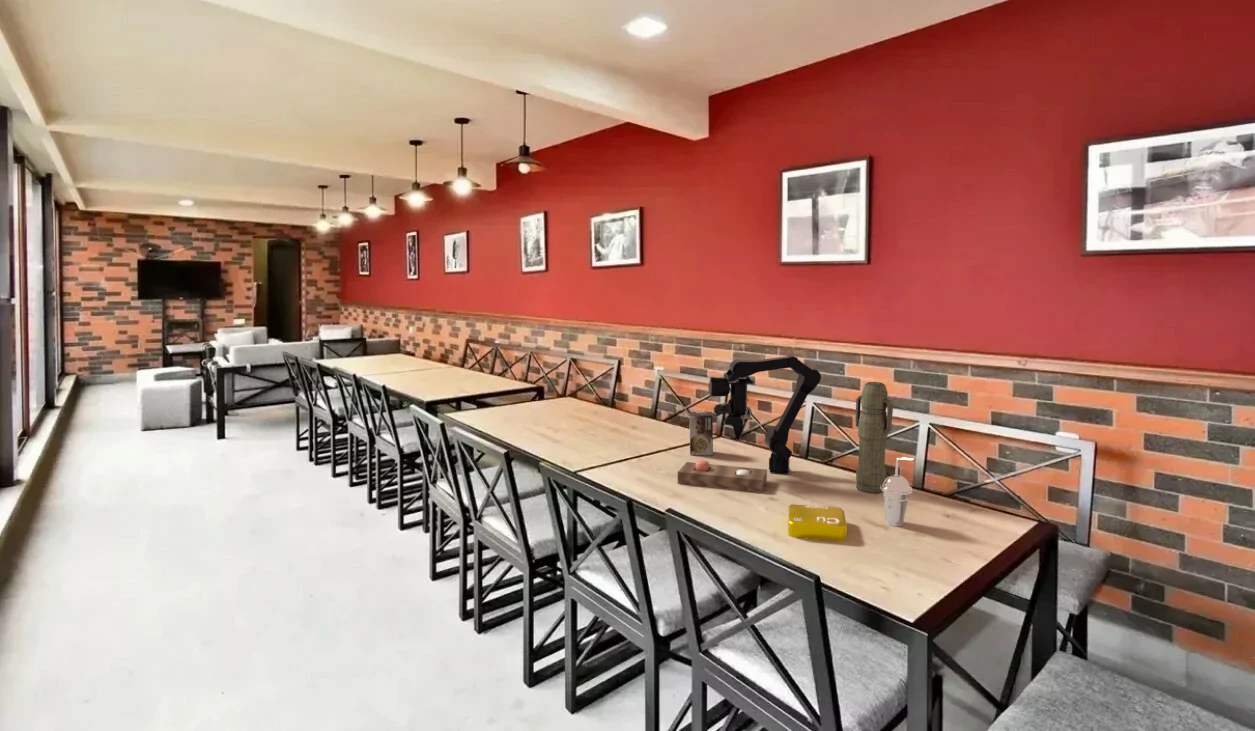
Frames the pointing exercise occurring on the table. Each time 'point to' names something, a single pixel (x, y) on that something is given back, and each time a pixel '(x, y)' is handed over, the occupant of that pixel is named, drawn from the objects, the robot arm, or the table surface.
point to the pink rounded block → (702, 466)
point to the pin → (743, 472)
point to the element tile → (817, 522)
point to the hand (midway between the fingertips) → (738, 439)
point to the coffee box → (701, 433)
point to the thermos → (872, 436)
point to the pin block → (723, 477)
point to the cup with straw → (896, 496)
